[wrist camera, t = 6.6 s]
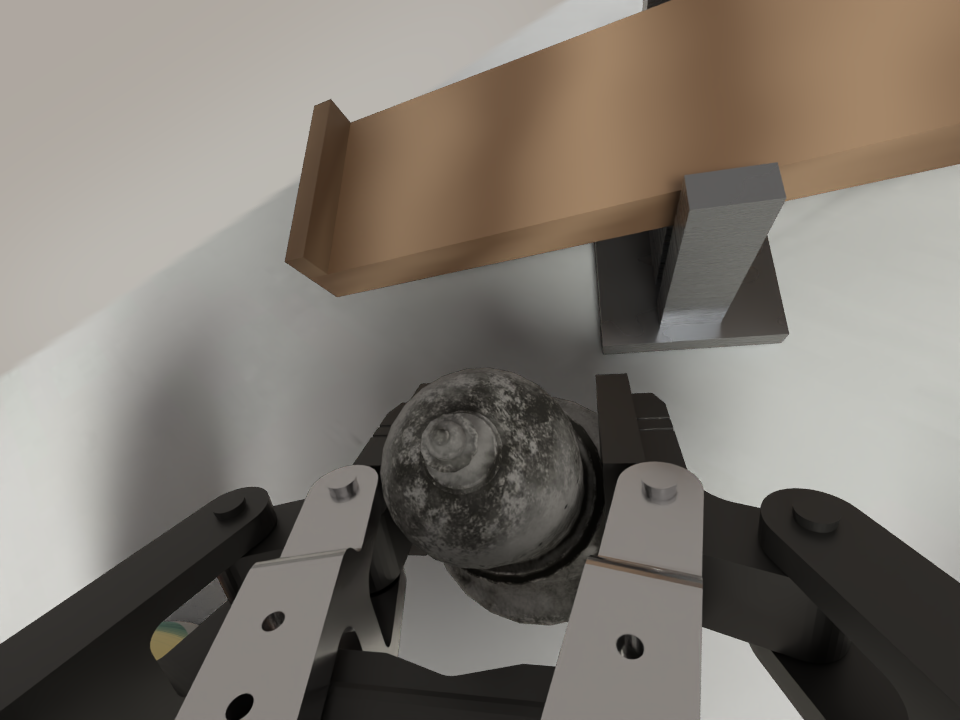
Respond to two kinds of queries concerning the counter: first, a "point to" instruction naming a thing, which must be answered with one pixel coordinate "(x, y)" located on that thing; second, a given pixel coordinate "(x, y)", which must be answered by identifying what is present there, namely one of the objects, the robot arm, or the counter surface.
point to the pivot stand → (697, 268)
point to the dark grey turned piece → (499, 489)
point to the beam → (626, 133)
